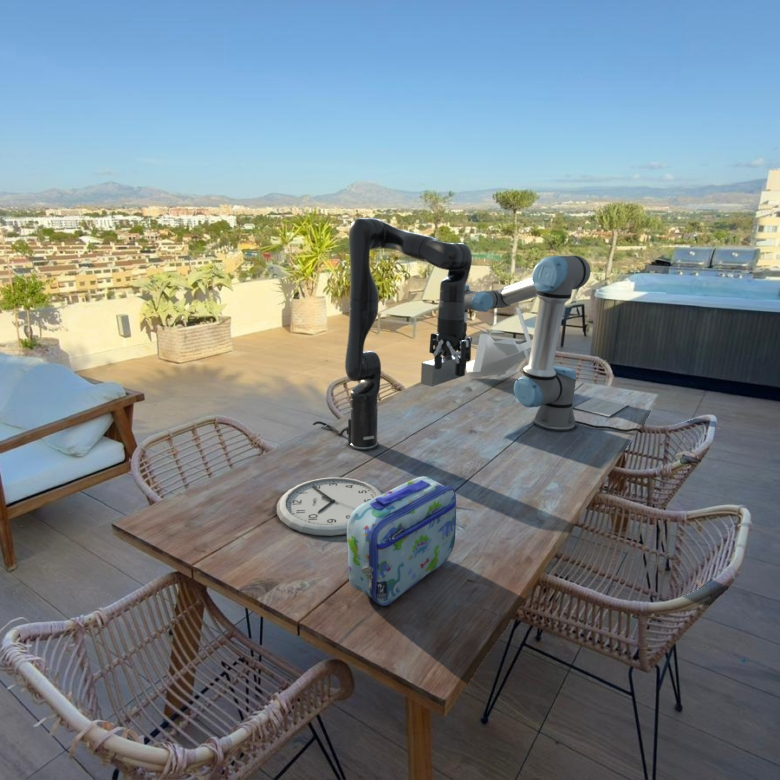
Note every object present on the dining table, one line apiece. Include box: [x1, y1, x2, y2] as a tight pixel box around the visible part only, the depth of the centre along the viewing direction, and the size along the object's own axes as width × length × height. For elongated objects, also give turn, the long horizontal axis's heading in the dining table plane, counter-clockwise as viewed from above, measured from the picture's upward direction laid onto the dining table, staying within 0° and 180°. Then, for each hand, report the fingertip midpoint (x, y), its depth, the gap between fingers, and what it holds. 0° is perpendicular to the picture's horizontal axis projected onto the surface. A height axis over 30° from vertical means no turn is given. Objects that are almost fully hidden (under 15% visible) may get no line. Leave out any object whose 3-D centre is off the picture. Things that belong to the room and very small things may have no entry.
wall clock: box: [276, 476, 384, 537], centre depth 142 cm, size 30×2×30 cm
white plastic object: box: [465, 307, 533, 379], centre depth 258 cm, size 37×45×31 cm
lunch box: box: [346, 475, 457, 607], centre depth 111 cm, size 26×11×21 cm, turn 134°
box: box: [420, 354, 466, 387], centre depth 220 cm, size 23×6×9 cm, turn 138°
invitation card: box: [573, 396, 629, 418], centre depth 226 cm, size 21×1×15 cm
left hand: (448, 372), depth 152 cm, fingers open, 8 cm apart
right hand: (455, 374), depth 227 cm, fingers closed on box, 6 cm apart
